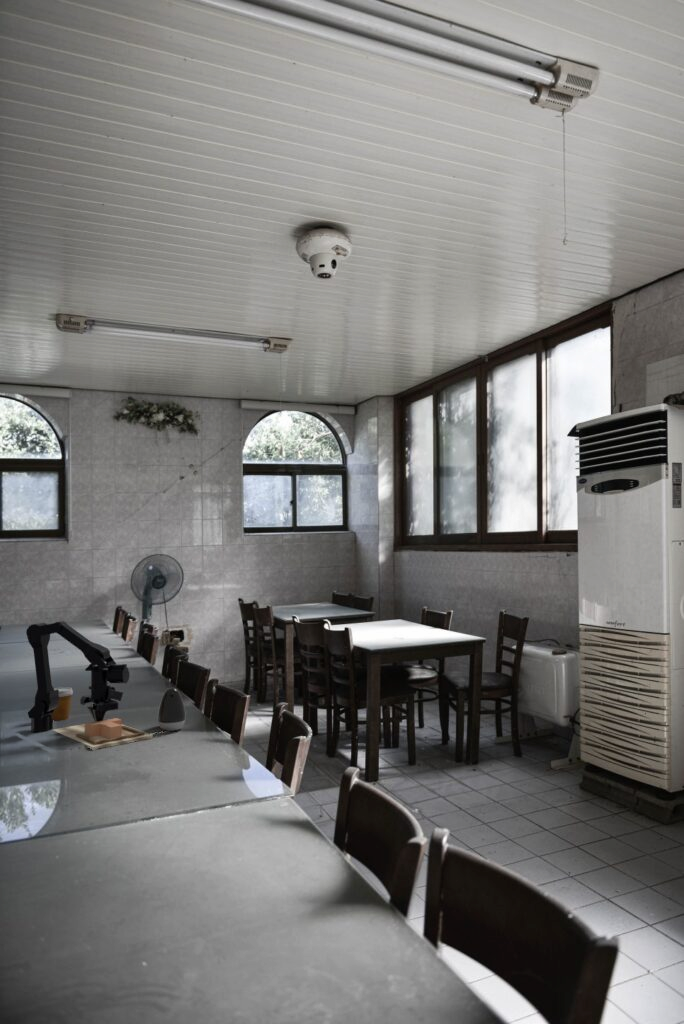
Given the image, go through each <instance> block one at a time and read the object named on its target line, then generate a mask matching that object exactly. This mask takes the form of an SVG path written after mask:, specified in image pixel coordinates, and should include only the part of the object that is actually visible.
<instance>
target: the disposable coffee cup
mask: <svg viewBox="0 0 684 1024" xmlns="http://www.w3.org/2000/svg"><path fill="white" fill-rule="evenodd" d="M53 688H54V687H53ZM57 689H58V690H59V698H60V700H59V703H58V706H57V707H56V708H55V710H54V712H53V713H52V714H50V715H52V719H53V720H54V721H57V722H60V721H61V720H62V721H67V720H66V719H68V718H69V719H70V711H71V704H72V695H73V694H74V691H73V688H72V687H69V686H68V687H65V686H63V687H55V688H54V690H57ZM69 719H68V720H69Z"/></svg>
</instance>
